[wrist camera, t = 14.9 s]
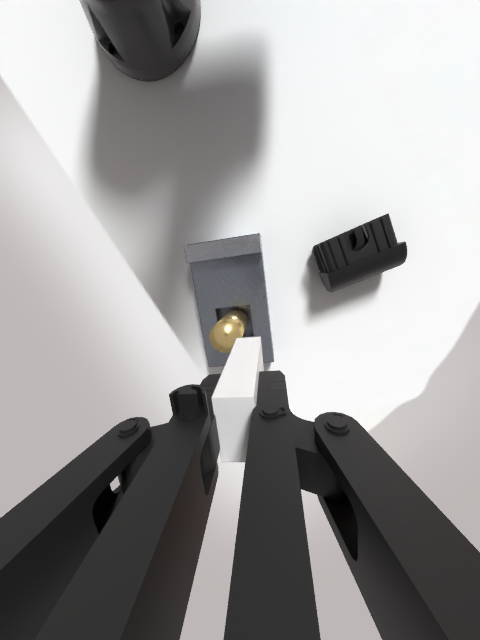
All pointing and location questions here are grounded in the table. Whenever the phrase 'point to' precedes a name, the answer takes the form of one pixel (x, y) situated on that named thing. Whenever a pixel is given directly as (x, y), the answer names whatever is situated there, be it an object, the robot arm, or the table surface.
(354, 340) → the table surface
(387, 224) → the end cap
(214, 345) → the brass cylinder rod
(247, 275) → the jig
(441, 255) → the table surface
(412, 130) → the table surface
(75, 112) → the table surface
